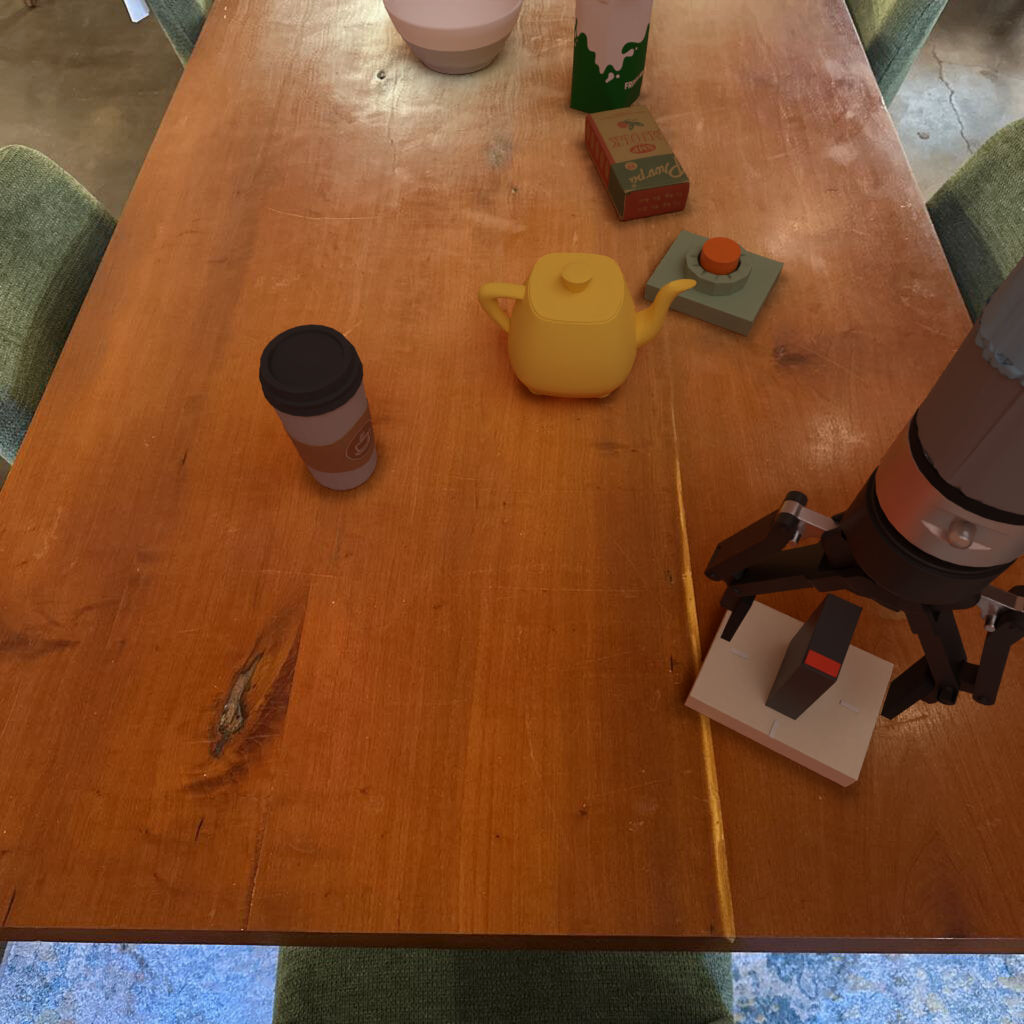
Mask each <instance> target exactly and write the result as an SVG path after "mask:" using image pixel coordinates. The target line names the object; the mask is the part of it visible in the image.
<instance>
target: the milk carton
mask: <svg viewBox="0 0 1024 1024" xmlns="http://www.w3.org/2000/svg"><path fill="white" fill-rule="evenodd" d="M653 4H654V0H575V9H574V10H575V11H574V30H573V31H574V32H573V35H574V36H573V51H572V52H573V55H572V56H573V57H572V72H571V73H572V74H571V89H570V105H569V108H572V109H575V110H578V111H580V112H581V111H582V112H584V113H587V114H592V113H598V112H604V111H609V110H615V109H621V108H628V107H632V105H633V104H634V103H635V101H637V99H638V98H639V97H640V94H641V89H642V85H643V78H644V73H645V68H646V60H647V51H648V44H649V34H650V29H651V28H650V27H651V20H652V12H653Z"/></svg>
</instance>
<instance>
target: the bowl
mask: <svg viewBox="0 0 1024 1024" xmlns="http://www.w3.org/2000/svg"><path fill="white" fill-rule="evenodd" d="M382 3H383V6H384V8H385V11H386V12H387V15H388V17H389V19H390V21H391V23H392V25H393V27H394V29H395V30H396V32H397V34H399V36H400V38H402V40H403V41H404V43H405V44H406V45H407V46H408V47H409V48H410V51H412V53H413V54H414V55H415V56H416V57H417V58H418V59H419V60H421V62H422V63H423V64H424V65H425V66H426V67H427V68H429V69H431V70H433V71H434V72H438V73H442V74H447V75H465V74H471V73H474V72H478V71H480V70H483V69H485V68H486V67H488V66H489V65H491V64H492V63H493V61H495V58H496V57H497V55H498V54H500V52H502V50H503V48H504V47H505V45H506V42H507V41H508V39H509V38H510V36H511V34H512V32H513V30H514V28H515V26H516V25H517V22H518V19H519V16H520V13H521V10H522V7H523V3H524V0H382Z"/></svg>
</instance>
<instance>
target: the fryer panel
mask: <svg viewBox="0 0 1024 1024" xmlns="http://www.w3.org/2000/svg"><path fill="white" fill-rule="evenodd" d="M731 613H732V612H731V611H729V610H727V609H726V610H725V613H724V615H723V618H722V620H721V622H720V624H719V626H718V628H717V631H716V633H715V635H714V637H713V639H712V641H711V644H710V645H709V648H708V650H707V653H706V655H705V657H704V660H703V661H702V664H701V666H700V667H699V671H698V672H697V674H696V677H695V679H694V681H693V684H692V686H691V689H690V690H689V693H688V694H687V698H686V699H685V702H684V704H683V705H684V706H685V707H687V708H690V709H691V710H694V711H695V712H697V713H699V714H701V715H703V716H705V717H706V718H709V719H711V720H713V721H714V722H717V723H718V724H721V725H723V726H725V727H727V728H728V729H730V730H732V731H734V732H736V733H738V734H740V735H742V736H744V737H746V738H748V739H750V740H752V741H754V742H755V743H758V744H759V745H762V746H764V747H766V748H767V749H769V750H772V751H773V752H775V753H777V754H779V755H781V756H783V757H785V758H787V759H789V760H791V761H793V762H795V763H796V764H798V765H801V766H802V767H804V768H806V769H808V770H810V771H812V772H814V773H816V774H818V775H820V776H822V777H824V778H826V779H828V780H829V781H832V782H834V783H836V784H838V785H839V786H842V787H843V788H846V787H849V786H851V785H852V784H854V783H855V782H857V781H858V780H859V777H860V774H861V771H862V768H863V765H864V761H865V758H866V755H867V753H868V749H869V745H870V742H871V739H872V736H873V733H874V730H875V727H876V723H877V720H878V717H879V714H880V711H881V709H882V708H881V707H882V706H883V705H882V704H883V703H884V700H885V699H884V698H885V695H886V692H887V689H888V687H889V686H888V685H889V684H890V679H891V678H892V673H893V670H894V667H895V664H894V663H892V662H890V661H887V660H885V659H883V658H881V657H879V656H877V655H875V654H872V653H870V652H868V651H866V650H863V649H861V648H859V647H857V646H855V645H854V644H851V643H850V645H849V648H848V651H847V654H846V657H845V659H844V662H843V665H842V668H841V671H840V673H839V676H838V679H837V681H836V682H835V683H834V684H833V685H832V686H831V687H830V688H829V689H828V690H827V691H826V692H825V693H824V694H823V695H822V696H821V697H820V698H819V699H817V700H816V701H815V702H814V703H813V704H812V705H811V706H810V707H809V708H808V709H807V710H806V711H805V712H804V713H803V714H802V715H801V716H800V717H798V718H797V719H796V720H794V719H792V718H790V717H788V716H786V715H784V714H782V713H780V712H778V711H776V710H774V709H772V708H770V707H767V706H766V705H765V704H766V702H767V699H768V697H769V694H770V692H771V689H772V687H773V684H774V682H775V679H776V677H777V674H778V672H779V669H780V666H781V664H782V661H783V659H784V656H785V654H786V651H787V649H788V646H789V644H790V641H791V640H792V639H793V637H794V636H795V635H796V633H797V632H798V631H799V630H800V628H801V627H802V626H803V625H804V623H805V622H803V621H801V620H799V619H796V618H795V617H792V616H790V615H788V614H786V613H784V612H781V611H779V610H777V609H775V608H773V607H770V606H768V605H766V604H764V603H762V602H760V601H757V600H756V599H754V602H753V604H752V606H751V608H750V610H749V611H748V613H747V615H746V616H745V618H744V619H743V621H742V623H741V624H740V626H739V628H738V629H737V631H736V633H735V634H734V636H733V638H732V639H731V641H730V642H728V641H726V640H724V639H722V638H720V637H721V635H722V632H723V630H724V628H725V626H726V624H727V621H728V619H729V617H730V615H731Z"/></svg>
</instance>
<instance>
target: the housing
mask: <svg viewBox="0 0 1024 1024" xmlns="http://www.w3.org/2000/svg"><path fill="white" fill-rule="evenodd" d="M709 239H710V238H709V237H706V236H703V235H700V234H697V233H694V232H691V231H688V230H685V229H681V231H680V232H679V234H678V235H677V236H676V238H675V240H674V241H673V242H672V244H671V245H670V247H669V248H668V250H667V252H666V253H665V255H664V256H663V258H662V259H661V260H660V262H659V263H658V265H657V267H656V268H655V269H654V271H653V272H652V274H651V276H650V277H649V278H648V280H647V281H646V283H645V287H644V294H643V300H646V301H649V302H651V303H653V302H654V300H655V297H656V295H657V293H658V292H659V290H660V289H661V288H662V287H663V286H665V285H666V284H668V283H669V282H672V281H675V280H681V279H692V280H695V281H696V282H697V283H696V285H695V286H694V287H692V288H690V289H688V290H686V291H684V292H682V293H680V294H679V295H678V296H677V297H676V298H675V299H674V300H673V301H672V303H671V305H670V307H669V309H671V310H674V311H676V312H679V313H682V314H684V315H686V316H689V317H693V318H696V319H698V320H701V321H704V322H706V323H708V324H711V325H714V326H717V327H720V328H722V329H725V330H729V331H731V332H734V333H737V334H740V335H742V336H744V337H748V336H749V334H750V332H751V330H752V329H753V327H754V325H755V323H756V322H757V319H758V317H759V316H760V314H761V312H762V311H763V309H764V306H765V305H766V303H767V301H768V300H769V297H770V295H771V293H772V292H773V290H774V288H775V286H776V284H777V282H778V281H779V279H780V276H781V273H782V270H783V268H784V265H785V263H783V262H781V261H778V260H776V259H773V258H770V257H766V256H763V255H760V254H757V253H754V252H751V251H748V250H746V249H745V247H743V246H742V245H741V244H739V243H738V242H736V243H737V244H738V245H739V246H740V249H741V255H740V258H739V262H738V265H737V268H736V269H735V270H734V271H733V272H732V273H730V274H727V275H715V274H712V273H709V272H707V271H705V270H704V269H703V268H702V266H701V264H700V256H701V252H702V248H703V245H704V243H705V242H706V241H707V240H709Z"/></svg>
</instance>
